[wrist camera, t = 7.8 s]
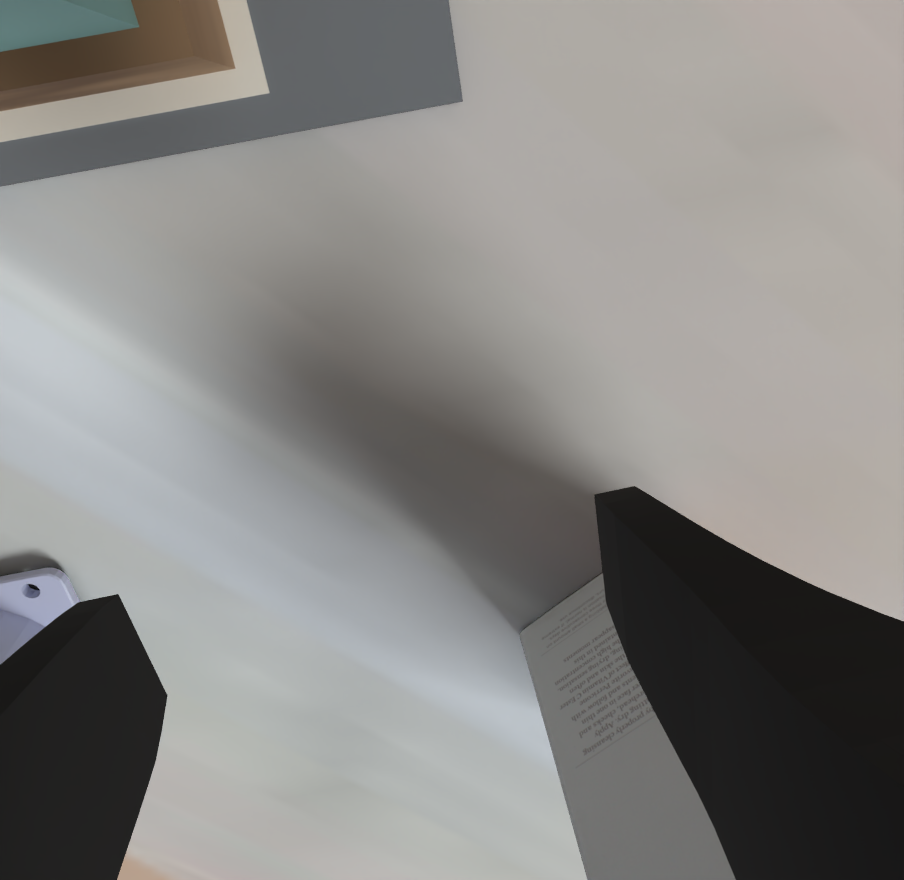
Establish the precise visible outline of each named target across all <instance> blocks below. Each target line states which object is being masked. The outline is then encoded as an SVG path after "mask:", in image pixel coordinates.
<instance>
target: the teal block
mask: <svg viewBox="0 0 904 880" xmlns="http://www.w3.org/2000/svg"><path fill="white" fill-rule="evenodd" d="M137 27H139V24H138V21H137V18H136V15H135V11H134V8H133V5H132V2H131V0H0V52H3V51H8V50H14V49H19V48H25V47H31V46H36V45H42V44H47V43H53V42H59V41H64V40H70V39H76V38H81V37H87V36H92V35H98V34H104V33H109V32H115V31H121V30H126V29H132V28H137Z"/></svg>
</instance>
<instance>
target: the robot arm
mask: <svg viewBox="0 0 904 880" xmlns="http://www.w3.org/2000/svg"><path fill="white" fill-rule="evenodd" d="M595 505H596V514H597V523H598V533H599V542H600V551H601V561H602V570H603V579H604V589H605V598H606V604H607V607H608V610H609V612H610V615H611V618H612V621H613V623H614V626H615V629H616V631H617V634H618V637H619V639H620V642H621V644H622V647H623V650H624V652H625V655H626V657H627V660H628V662H629V664H630V666H631V668H632V670H633V672H634V674H635V676H636V678H637V680H638V681H639V683H640V685H641V687H642V689H643V691H644V693H645V695H646V697H647V699H648V701H649V702H650V704H651V706H652V708H653V710H654V712H655V714H656V716H657V718H658V719H659V721H660V723H661V725H662V727H663V729H664V731H665V733H666V735H667V736H668V738H669V740H670V742H671V744H672V746H673V748H674V750H675V752H676V753H677V755H678V757H679V759H680V761H681V763H682V765H683V767H684V768H685V770H686V772H687V774H688V776H689V778H690V780H691V782H692V784H693V785H694V787H695V789H696V791H697V793H698V795H699V797H700V799H701V801H702V803H703V805H704V807H705V810H706V812H707V814H708V816H709V818H710V820H711V822H712V824H713V826H714V829H715V831H716V833H717V836H718V838H719V841H720V843H721V845H722V848H723V850H724V853H725V855H726V857H727V860H728V862H729V865H730V867H731V869H732V872H733V874H734V877H735V879H736V880H904V622H903V621H901V620H898V619H895V618H892V617H889V616H887V615H884V614H881V613H879V612H877V611H874V610H872V609H869V608H867V607H864V606H862V605H859V604H857V603H854V602H852V601H849V600H847V599H844V598H842V597H840V596H837V595H835V594H832V593H830V592H827V591H825V590H823V589H821V588H818V587H816V586H814V585H812V584H810V583H807V582H805V581H803V580H801V579H799V578H797V577H795V576H793V575H791V574H789V573H787V572H785V571H783V570H781V569H779V568H777V567H775V566H773V565H770V564H768V563H766V562H764V561H762V560H760V559H759V558H757V557H755V556H753V555H751V554H749V553H747V552H745V551H744V550H742V549H740V548H738V547H736V546H734V545H733V544H731V543H729V542H727V541H725V540H724V539H722V538H720V537H718V536H717V535H715V534H713V533H711V532H710V531H708V530H706V529H705V528H703V527H701V526H700V525H698V524H696V523H694V522H693V521H691V520H689V519H688V518H686V517H685V516H683V515H681V514H680V513H678V512H676V511H675V510H673V509H671V508H670V507H668V506H667V505H665V504H663V503H662V502H660V501H658V500H657V499H655V498H654V497H652V496H650V495H649V494H647V493H645V492H644V491H642V490H640V489H638V488H637V487H635V486H633V487H628V488H624V489H619V490H614V491H609V492H605V493H600V494H595ZM28 584H33V585H35V586H37V587H38V588H39V589H40V590H34V589H32V588H30V587H29V586H28ZM166 701H167V694H166V692H165V690H164V688H163V686H162V684H161V682H160V679H159V677H158V675H157V673H156V671H155V669H154V667H153V665H152V663H151V661H150V659H149V657H148V655H147V653H146V651H145V648H144V646H143V644H142V642H141V640H140V638H139V636H138V634H137V632H136V630H135V628H134V626H133V624H132V622H131V619H130V617H129V615H128V613H127V611H126V609H125V607H124V605H123V603H122V601H121V599H120V597H119V595H118V594H117V595H112V596H107V597H102V598H98V599H93V600H88V601H83V602H80V600H79V598H78V596H77V594H76V592H75V590H74V588H73V586H72V584H71V582H70V580H69V578H68V577H67V575H66V574H65V573H64V572H62V571H61V570H59V569H55V568H42V569H37V570H31V571H26V572H21V573H16V574H11V575H6V576H0V880H117V878H118V875H119V872H120V868H121V866H122V863H123V860H124V857H125V854H126V851H127V848H128V845H129V842H130V839H131V836H132V833H133V830H134V827H135V824H136V821H137V818H138V815H139V812H140V808H141V805H142V802H143V799H144V796H145V793H146V790H147V787H148V784H149V781H150V777H151V774H152V771H153V768H154V764H155V761H156V756H157V751H158V746H159V741H160V736H161V731H162V725H163V719H164V713H165V707H166Z"/></svg>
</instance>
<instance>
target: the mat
mask: <svg viewBox="0 0 904 880" xmlns="http://www.w3.org/2000/svg"><path fill="white" fill-rule="evenodd" d="M218 4H219V8H220V12H221V16H222V19H223V23H224V27H225V31H226V34H227V38H228V42H229V46H230V49H231V53H232V57H233V61H234V65H235V68H236V69H231V70H225V71H220V72H214V73H209V74H203V75H198V76H192V77H187V78H181V79H176V80H170V81H165V82H159V83H154V84H148V85H143V86H137V87H132V88H126V89H121V90H115V91H110V92H104V93H99V94H93V95H88V96H82V97H77V98H71V99H66V100H60V101H55V102H49V103H44V104H38V105H33V106H27V107H22V108H16V109H11V110H5V111H0V186H5V185H11V184H16V183H22V182H27V181H33V180H38V179H43V178H49V177H54V176H60V175H65V174H71V173H76V172H82V171H87V170H92V169H98V168H103V167H109V166H114V165H120V164H125V163H130V162H136V161H141V160H147V159H152V158H158V157H163V156H169V155H174V154H179V153H185V152H190V151H196V150H201V149H207V148H212V147H218V146H223V145H228V144H234V143H239V142H245V141H250V140H256V139H261V138H266V137H272V136H277V135H283V134H288V133H294V132H299V131H305V130H310V129H315V128H321V127H326V126H332V125H337V124H343V123H348V122H353V121H359V120H364V119H370V118H375V117H381V116H386V115H392V114H397V113H402V112H408V111H413V110H419V109H424V108H430V107H435V106H441V105H446V104H451V103H457V102H462V101H463V99H462V92H461V85H460V78H459V71H458V64H457V57H456V50H455V43H454V36H453V29H452V22H451V15H450V8H449V1H448V0H218Z"/></svg>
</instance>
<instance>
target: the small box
mask: <svg viewBox="0 0 904 880" xmlns="http://www.w3.org/2000/svg"><path fill="white" fill-rule="evenodd" d="M520 640H521V643H522V646H523V650H524V653H525V657H526V660H527V664H528V667H529V671H530V674H531V678H532V681H533V685H534V688H535V692H536V696H537V699H538V703H539V706H540V710H541V713H542V717H543V721H544V724H545V728H546V731H547V735H548V739H549V742H550V746H551V749H552V753H553V757H554V760H555V764H556V767H557V771H558V775H559V778H560V782H561V786H562V789H563V793H564V797H565V800H566V804H567V807H568V811H569V815H570V818H571V822H572V825H573V829H574V833H575V836H576V840H577V843H578V847H579V851H580V854H581V858H582V861H583V865H584V869H585V872H586V876H587V879H588V880H736V879H735V877H734V874H733V872H732V869H731V867H730V865H729V862H728V860H727V857H726V855H725V853H724V850H723V848H722V845H721V843H720V841H719V838H718V836H717V833H716V831H715V829H714V826H713V824H712V822H711V820H710V818H709V816H708V814H707V812H706V810H705V807H704V805H703V803H702V801H701V799H700V797H699V795H698V793H697V791H696V789H695V787H694V785H693V784H692V782H691V780H690V778H689V776H688V774H687V772H686V770H685V768H684V767H683V765H682V763H681V761H680V759H679V757H678V755H677V753H676V752H675V750H674V748H673V746H672V744H671V742H670V740H669V738H668V736H667V735H666V733H665V731H664V729H663V727H662V725H661V723H660V721H659V719H658V718H657V716H656V714H655V712H654V710H653V708H652V706H651V704H650V702H649V701H648V699H647V697H646V695H645V693H644V691H643V689H642V687H641V685H640V683H639V681H638V680H637V678H636V676H635V674H634V672H633V670H632V668H631V666H630V664H629V662H628V660H627V657H626V655H625V652H624V650H623V647H622V644H621V642H620V639H619V637H618V634H617V631H616V629H615V626H614V623H613V621H612V618H611V615H610V612H609V610H608V607H607V604H606V598H605V589H604V579H603V573H602V574H600V575H599V576H597V577H596V578H595V579H593V580H592V581H590V582H589V583H587V584H586V585H585V586H583V587H582V588H580V589H579V590H578V591H576V592H575V593H573V594H572V595H570V596H569V597H567V598H566V599H565V600H563V601H562V602H561V603H559V604H558V605H556V606H555V607H554V608H552V609H551V610H549V611H548V612H547V613H545V614H544V615H543V616H541V617H540V618H539V619H537V620H536V621H535V622H533V623H532V624H530V625H529V626H528V627H527V628H525V629H524V630H523V631H522V632H521V633H520Z"/></svg>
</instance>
